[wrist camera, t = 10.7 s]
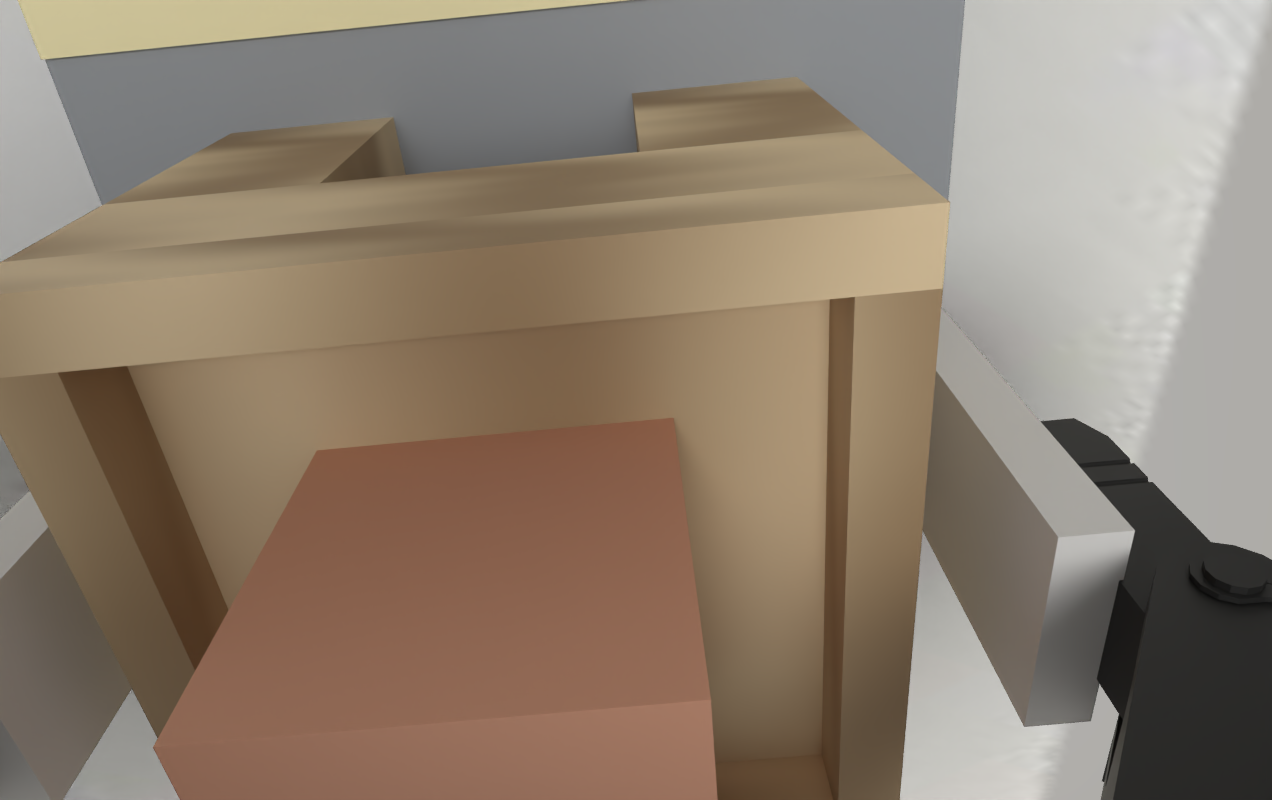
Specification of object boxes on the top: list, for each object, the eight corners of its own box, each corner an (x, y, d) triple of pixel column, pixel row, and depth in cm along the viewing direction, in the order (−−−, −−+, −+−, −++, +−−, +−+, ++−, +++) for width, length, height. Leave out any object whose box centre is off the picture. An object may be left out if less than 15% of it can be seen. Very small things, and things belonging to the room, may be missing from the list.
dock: (324, 585, 22) (284, 677, 19) (117, -25, 15) (12, -14, 13) (876, 536, 22) (913, 623, 19) (910, -107, 15) (976, -112, 12)
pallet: (366, 572, 18) (243, 904, 12) (231, 133, 14) (-69, 300, 8) (797, 534, 18) (895, 849, 12) (796, 76, 14) (950, 202, 8)
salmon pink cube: (396, 702, 12) (304, 1037, 8) (317, 450, 10) (153, 746, 6) (693, 676, 12) (730, 1004, 8) (673, 418, 10) (710, 699, 6)
